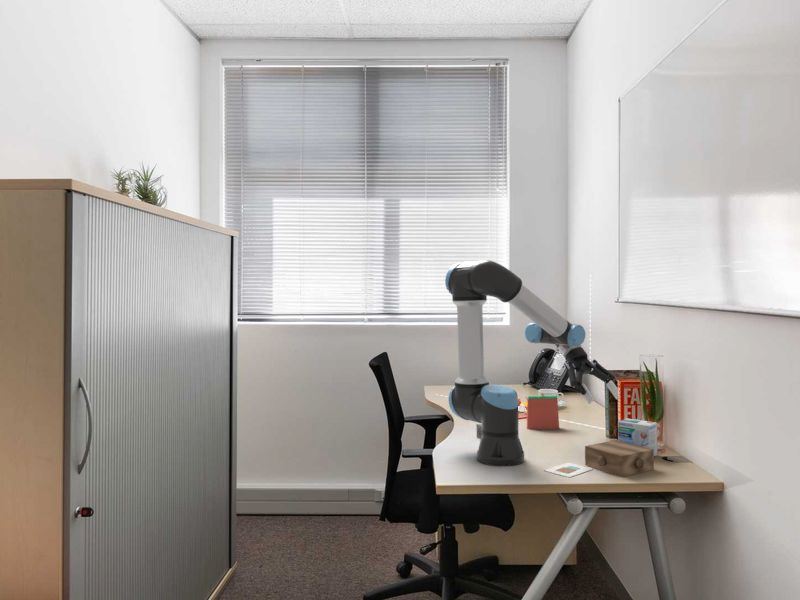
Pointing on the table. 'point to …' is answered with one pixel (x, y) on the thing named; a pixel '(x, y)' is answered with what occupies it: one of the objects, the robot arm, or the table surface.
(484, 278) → the robot arm
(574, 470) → the white picture frame
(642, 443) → the light bulb box
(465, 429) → the table surface
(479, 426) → the dice cube
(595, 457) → the base brick
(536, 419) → the toy building block set
